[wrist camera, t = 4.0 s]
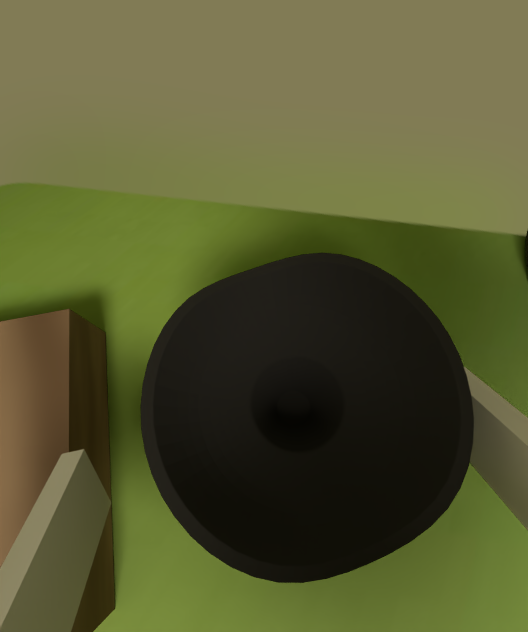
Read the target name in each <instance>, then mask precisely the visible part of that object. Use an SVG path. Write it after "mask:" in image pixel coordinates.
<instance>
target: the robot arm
mask: <svg viewBox="0 0 528 632" xmlns="http://www.w3.org/2000/svg"><path fill="white" fill-rule="evenodd" d="M525 251H526V261H527V267H528V231H527V236H526V245H525ZM464 369H465V372H466V375H467V379H468V383H469V387H470V392H471V396H472V405H473V415H474V432H473V446H472V451H471V457H470V463H471V464H472V466H473V467H474V468H475V469H476V470H477V471H478V473H479V474H480V475H481V476H482V477H483V478H484V480H485V481H486V482H487V483H488V484H489V486H490V487H491V488H492V489H493V490H494V491H495V493H496V494H497V495H498V496H499V497H500V498H501V500H502V501H503V502H504V503H505V504H506V505H507V507H508V508H509V509H510V510H511V511H512V512H513V514H514V515H515V516H516V517H517V518H518V519H519V521H520V522H521V523H522V524H523V525H524V526H525V528H526V529H527V530H528V418H527V417H526V416H525V415H523V414H522V413H521V412H520V411H519V410H517V409H516V408H515V407H514V406H512V405H511V404H510V403H509V402H507V401H506V400H505V399H504V398H503V397H501V396H500V395H499V394H498V393H496V392H495V391H494V390H493V389H491V388H490V387H489V386H488V385H486V384H485V383H484V382H483V381H482V380H480V379H479V378H478V377H477V376H475V375H474V374H473V373H472V372H470V371H469V370H468V369H467V368H465V367H464ZM110 505H111V501H110V499H109V497H108V495H107V493H106V491H105V489H104V487H103V485H102V483H101V481H100V479H99V477H98V475H97V473H96V471H95V470H94V468H93V466H92V464H91V462H90V460H89V458H88V456H87V454H86V452H85V450H84V449H82V450H78V451H73V452H68V453H64V454H62V455H61V456H60V458H59V460H58V462H57V464H56V466H55V468H54V469H53V471H52V473H51V475H50V477H49V479H48V481H47V482H46V484H45V486H44V488H43V490H42V492H41V494H40V495H39V497H38V499H37V501H36V503H35V505H34V507H33V508H32V510H31V512H30V514H29V516H28V518H27V520H26V521H25V523H24V525H23V527H22V529H21V531H20V533H19V535H18V536H17V538H16V540H15V542H14V544H13V546H12V548H11V549H10V551H9V553H8V555H7V557H6V559H5V561H4V562H3V564H2V566H1V568H0V632H71V630H72V627H73V624H74V621H75V617H76V614H77V611H78V608H79V605H80V601H81V598H82V595H83V592H84V589H85V585H86V582H87V579H88V576H89V573H90V569H91V566H92V563H93V560H94V557H95V553H96V550H97V547H98V544H99V541H100V537H101V534H102V531H103V528H104V525H105V521H106V518H107V515H108V512H109V509H110Z"/></svg>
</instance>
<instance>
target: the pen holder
mask: <svg viewBox="0 0 528 632" xmlns="http://www.w3.org/2000/svg"><path fill="white" fill-rule="evenodd" d="M141 430H142V436H143V442H144V449H145V453H146V457H147V460H148V463H149V467H150V470H151V473H152V476H153V478H154V480H155V482H156V485H157V487H158V489H159V491H160V493H161V496H162V497H163V499H164V501H165V502H166V504H167V505H168V507H169V509H170V510H171V512H172V513H173V515H174V517H175V518H176V519H177V520H178V521H179V523H180V524H181V525H182V526H183V527H184V529H185V530H186V531H187V532H188V533H189V535H190V536H191V537H192V538H193V539H194V540H196V541H197V542H198V543H199V544H200V545H201V546H202V547H203V548H204V549H206V550H207V551H208V552H209V553H210V554H212V555H213V556H215V557H216V558H218V559H219V560H221V561H223V562H224V563H226V564H227V565H229V566H230V567H232V568H235V569H237V570H239V571H241V572H244V573H246V574H248V575H251V576H253V577H256V578H261V579H265V580H270V581H274V582H283V583H304V582H310V581H316V580H322V579H327V578H330V577H334V576H337V575H340V574H343V573H347V572H350V571H352V570H354V569H357V568H359V567H362V566H364V565H367V564H369V563H371V562H373V561H375V560H377V559H380V558H382V557H384V556H386V555H388V554H390V553H392V552H394V551H395V550H397V549H399V548H400V547H402V546H404V545H406V544H407V543H409V542H411V541H412V540H414V539H415V538H416V537H417V536H419V535H420V534H421V533H423V532H424V531H425V530H427V529H428V528H429V527H431V526H432V525H433V524H434V523H435V521H436V520H437V519H438V518H439V517H440V516H441V515H442V514H443V513H444V512H445V511H446V510H447V509H448V507H449V506H450V504H451V503H452V501H453V499H454V498H455V496H456V494H457V493H458V491H459V490H460V488H461V485H462V482H463V480H464V477H465V474H466V472H467V469H468V466H469V462H470V457H471V451H472V446H473V432H474V415H473V405H472V396H471V392H470V387H469V383H468V379H467V375H466V372H465V369H464V366H463V364H462V361H461V358H460V355H459V353H458V351H457V349H456V347H455V345H454V343H453V341H452V339H451V337H450V335H449V334H448V332H447V331H446V329H445V328H444V326H443V325H442V323H441V322H440V320H439V319H438V317H437V316H436V315H435V314H434V313H433V312H432V310H431V309H430V308H429V307H428V306H427V305H426V303H425V302H424V301H423V300H422V299H421V298H420V297H418V296H417V295H416V294H415V293H414V292H413V291H412V290H411V289H410V288H409V287H407V286H406V285H405V284H403V283H402V282H401V281H399V280H398V279H397V278H395V277H394V276H392V275H391V274H389V273H387V272H385V271H384V270H382V269H380V268H379V267H377V266H374V265H372V264H370V263H367V262H365V261H362V260H360V259H357V258H353V257H349V256H345V255H341V254H331V253H313V254H303V255H298V256H294V257H289V258H285V259H281V260H278V261H275V262H271V263H268V264H265V265H262V266H259V267H256V268H253V269H250V270H247V271H244V272H242V273H239V274H236V275H233V276H230V277H228V278H225V279H222V280H220V281H218V282H215V283H213V284H211V285H209V286H207V287H205V288H203V289H202V290H200V291H199V292H197V293H196V294H194V295H193V296H191V297H190V298H188V299H187V300H186V301H185V302H184V303H183V304H182V305H181V306H180V307H179V308H178V309H177V310H176V311H175V312H174V314H173V315H172V316H171V318H170V319H169V320H168V322H167V323H166V324H165V326H164V327H163V329H162V331H161V333H160V335H159V337H158V339H157V341H156V342H155V344H154V347H153V350H152V353H151V355H150V358H149V361H148V364H147V368H146V372H145V377H144V381H143V387H142V397H141Z"/></svg>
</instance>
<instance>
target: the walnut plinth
mask: <svg viewBox="0 0 528 632" xmlns="http://www.w3.org/2000/svg"><path fill="white" fill-rule="evenodd" d="M82 449H84V450H85V452H86V454H87V456H88V458H89V460H90V462H91V464H92V466H93V468H94V470H95V471H96V473H97V475H98V477H99V479H100V481H101V483H102V485H103V487H104V489H105V491H106V493H107V495H108V497H109V499H110V501H111V479H110V450H109V422H108V393H107V365H106V336H105V332H104V331H102V330H101V329H99V328H98V327H96V326H95V325H93V324H92V323H90V322H89V321H87V320H85V319H84V318H82V317H81V316H79V315H78V314H76V313H75V312H73V311H72V310H70V309H66V310H60V311H55V312H49V313H44V314H39V315H33V316H28V317H23V318H17V319H12V320H6V321H1V322H0V568H1V566H2V564H3V562H4V561H5V559H6V557H7V555H8V553H9V551H10V549H11V548H12V546H13V544H14V542H15V540H16V538H17V536H18V535H19V533H20V531H21V529H22V527H23V525H24V523H25V521H26V520H27V518H28V516H29V514H30V512H31V510H32V508H33V507H34V505H35V503H36V501H37V499H38V497H39V495H40V494H41V492H42V490H43V488H44V486H45V484H46V482H47V481H48V479H49V477H50V475H51V473H52V471H53V469H54V468H55V466H56V464H57V462H58V460H59V458H60V456H61V455H62V454H64V453H68V452H73V451H78V450H82ZM114 609H115V593H114V564H113V536H112V507H111V505H110V509H109V512H108V515H107V518H106V521H105V525H104V528H103V531H102V534H101V537H100V541H99V544H98V547H97V550H96V553H95V557H94V560H93V563H92V566H91V569H90V573H89V576H88V579H87V582H86V585H85V589H84V592H83V595H82V598H81V601H80V605H79V608H78V611H77V614H76V617H75V621H74V624H73V627H72V630H71V632H93V631H94V630H95V629H96V628H97V627H98V626H99V625H100V624H101V623H102V622H103V621H104V620H105V619H106V617H107V616H108V615H109V614H110V613H111V612H112V611H113V610H114Z"/></svg>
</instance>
